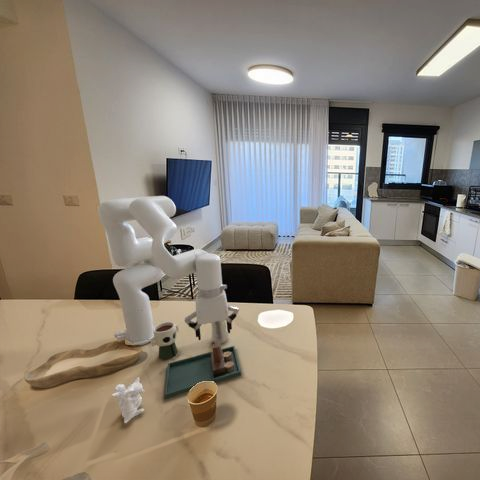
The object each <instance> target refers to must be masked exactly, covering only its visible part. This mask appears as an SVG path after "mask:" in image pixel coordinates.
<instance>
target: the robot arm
mask: <svg viewBox="0 0 480 480" xmlns="http://www.w3.org/2000/svg"><path fill="white" fill-rule="evenodd" d="M176 212H177V207H176V205H175V202H174V201H173V200H172V199H171V197H170V198H169V197H168V196H166V195H153V196H151V195H150V196H149V195H147V196H146V195H145V196H133V197H120V198H111V199H106V200H104V201H102V202H101V203H99V205H98V207H97V217H98V219H99V221H100V223H101V225H102V227H103V229H104V230H105V232H106V236H107V239H108V240H107V241H108V244H109V249H110V253H111V256H112V259H113V262H114V264H115V265H117V267H127V268H124V269H122V270H120V271H118V272H117V273H115V274H114V276H113V277H112V283H113V286H114V288H115V290H116V293H117V295H118V298H119V301H120V305H121V311H122V315H123V320H124V325H125V330H123V331H118V332H115V333H114V337H115V338H116V340H117V341H118V340H122V339H123V340H124V339H126V340H128V341H129V342H130V343H132V344H136V345H139V346H143V345H147V344H148V343H151V338H153V337H154V333H153V329H154V327H155V323H154V318H153V317H154V316H153V312H152V307H151V301H150V297H149V295H148V294H147V293H146V292H144V291H142V290H143V289H144V288H146V287H148V286H152V285H154V284H156V283H159V282H160V281H161V280H162V279H163V277H164V274H165V275H166V276H167V277H168V278H169V279H173V280H179V279H183V278H185V277H187V276H190V275H192V274H194V273H195V274H196V284H197V292H198V293H196V296H195V311H194V312H192V313H191V314H189V315H188V316H186V317H184V322H185V323H186V324H187V325H188V327H189V328H191V329H193V330H194V331H195V338H198V341H201V340H202V338H201V337H202V335H201V326H202V325H207V324H211V323H212V322H217V321H221V320H225V322H226V329H227V332H228V334H231V330H232V329H233V325H232V324H233V321H234V320H235V319H236V318H237V315H238V313H239V311H240V309H239V307H237V306H233V305H229V304H228V299H227V294H226V290H227V289H228V285H227V284H223V275H222V266H221V265H222V263H221V257H220V255H218V254H216V253H209V252H207V251H206V250H204V249H202V248H193V249H191V250H187V251H185V252H181V253H178V254H175V255H172V254H171V252H170V251H168V249H167V248H166V246H165V244H166V243H167V242H168V241H170V240H171V239H172V238H173V237H174V236H175V234H176V233H177V230H178V226H177V224H176V222H174V221H173V220H172V219H171V218H172V217H174V216H175V215H176ZM131 221H136V222H137V224H139V226H140V227H141V228H142V229H143V230H144V231H145V232H146V233H147V235H149V236H143V237H139V238H137V237H136V231H135V229H134V227H133V226H132V225H131V224H130V223H129V222H131ZM142 262H143V263H142ZM139 263H140V264H139ZM135 264H136V265H135ZM137 264H138V265H137ZM132 265H133V266H132ZM128 266H131V267H128ZM229 311H230V312H232V313H231V314H229ZM193 319H196V321H192V320H193ZM139 346H138V347H139Z"/></svg>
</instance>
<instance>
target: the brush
mask: <svg viewBox="0 0 480 480" xmlns="http://www.w3.org/2000/svg"><path fill="white" fill-rule="evenodd" d="M211 348H212V349H211V350H212V351H213V352H212V351H211V352H212V353H211V358H212V367H213V375H214V378H215V377H218V376H221V375H225V374H226V370H225V363H224V357H223V352H222V350H221V349H222V346H221V344H220V343H214V344H212V346H211Z"/></svg>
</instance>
